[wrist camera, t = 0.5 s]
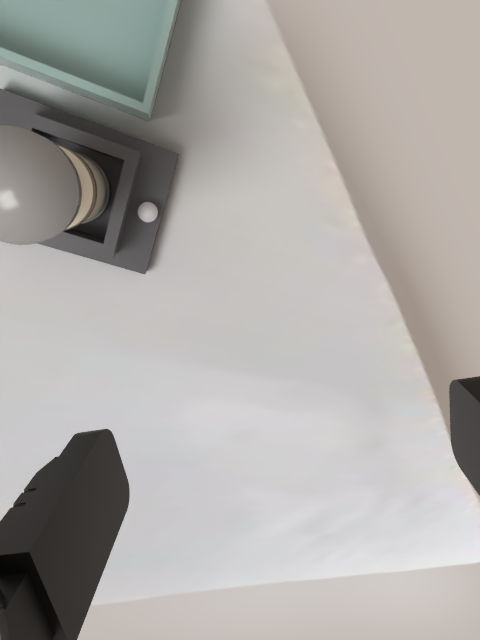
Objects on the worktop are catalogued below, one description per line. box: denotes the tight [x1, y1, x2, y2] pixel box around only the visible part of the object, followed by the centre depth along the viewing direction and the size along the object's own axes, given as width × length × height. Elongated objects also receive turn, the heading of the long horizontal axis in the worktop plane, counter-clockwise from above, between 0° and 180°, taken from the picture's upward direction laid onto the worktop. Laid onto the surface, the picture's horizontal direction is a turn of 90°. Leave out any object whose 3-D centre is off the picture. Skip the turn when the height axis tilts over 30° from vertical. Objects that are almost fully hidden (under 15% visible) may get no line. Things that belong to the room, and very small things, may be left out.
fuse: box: [0, 126, 111, 245], centre depth 23 cm, size 5×5×13 cm
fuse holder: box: [0, 89, 179, 274], centre depth 28 cm, size 12×9×4 cm
